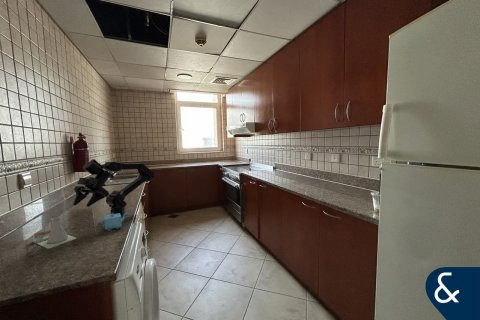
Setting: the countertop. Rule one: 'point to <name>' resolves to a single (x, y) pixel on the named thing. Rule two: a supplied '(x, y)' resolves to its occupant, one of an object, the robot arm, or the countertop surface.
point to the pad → (50, 245)
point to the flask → (57, 232)
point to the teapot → (113, 221)
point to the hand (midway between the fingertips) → (80, 205)
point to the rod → (42, 232)
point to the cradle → (39, 238)
